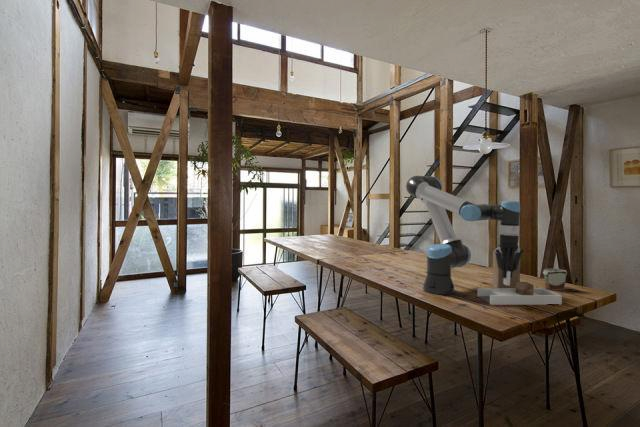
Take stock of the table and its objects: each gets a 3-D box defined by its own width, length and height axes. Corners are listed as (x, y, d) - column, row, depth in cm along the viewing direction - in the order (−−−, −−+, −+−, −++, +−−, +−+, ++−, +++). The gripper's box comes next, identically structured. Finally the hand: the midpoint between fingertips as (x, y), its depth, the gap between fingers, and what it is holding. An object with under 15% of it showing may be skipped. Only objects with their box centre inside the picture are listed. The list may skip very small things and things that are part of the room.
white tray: (490, 304, 142) (491, 295, 142) (477, 296, 154) (477, 288, 154) (561, 304, 143) (561, 295, 143) (542, 296, 155) (542, 288, 155)
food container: (556, 286, 173) (556, 267, 173) (566, 289, 167) (567, 270, 167) (536, 287, 171) (537, 268, 171) (546, 290, 165) (547, 271, 165)
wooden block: (519, 292, 161) (521, 253, 160) (498, 291, 163) (499, 252, 162) (512, 287, 170) (513, 250, 170) (491, 286, 172) (492, 249, 172)
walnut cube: (522, 295, 146) (522, 284, 146) (515, 292, 151) (515, 281, 151) (533, 295, 146) (533, 284, 146) (526, 292, 151) (526, 281, 151)
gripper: (500, 235, 143) (497, 286, 145) (528, 235, 143) (525, 287, 145) (490, 233, 151) (488, 282, 152) (517, 233, 151) (515, 282, 152)
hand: (506, 284), depth 149 cm, fingers closed
